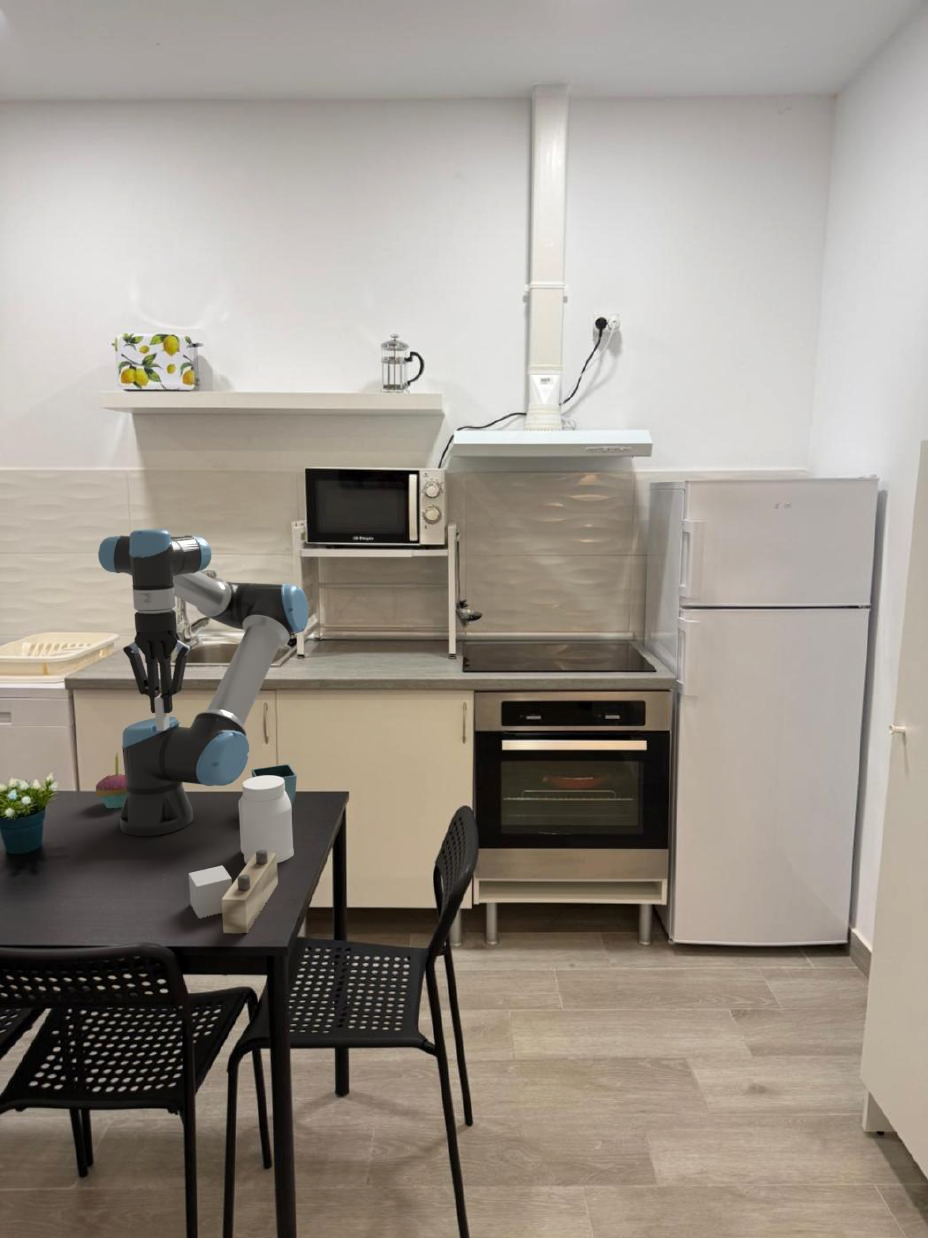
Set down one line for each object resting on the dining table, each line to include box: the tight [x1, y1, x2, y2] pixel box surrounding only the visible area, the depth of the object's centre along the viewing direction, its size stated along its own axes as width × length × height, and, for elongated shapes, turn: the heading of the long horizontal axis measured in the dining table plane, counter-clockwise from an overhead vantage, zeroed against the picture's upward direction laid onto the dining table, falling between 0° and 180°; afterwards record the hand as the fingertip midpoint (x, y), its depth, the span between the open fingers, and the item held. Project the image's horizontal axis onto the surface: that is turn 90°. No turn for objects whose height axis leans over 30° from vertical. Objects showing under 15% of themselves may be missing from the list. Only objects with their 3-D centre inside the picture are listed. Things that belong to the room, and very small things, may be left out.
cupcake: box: [95, 752, 126, 809], centre depth 199 cm, size 9×8×12 cm
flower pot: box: [251, 763, 298, 807], centre depth 196 cm, size 9×9×9 cm
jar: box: [237, 775, 295, 865], centre depth 172 cm, size 12×10×15 cm
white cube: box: [188, 864, 233, 919], centre depth 151 cm, size 6×6×6 cm
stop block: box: [221, 850, 279, 934], centre depth 151 cm, size 4×18×8 cm, turn 176°
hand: (163, 728), depth 169 cm, fingers closed
